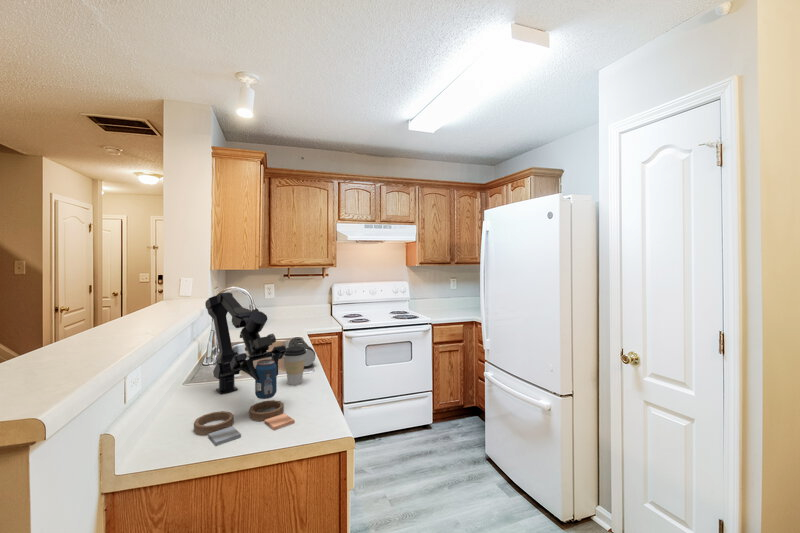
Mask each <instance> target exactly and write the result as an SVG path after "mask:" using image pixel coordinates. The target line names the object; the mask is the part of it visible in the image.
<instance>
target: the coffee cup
mask: <svg viewBox="0 0 800 533" xmlns="http://www.w3.org/2000/svg"><path fill="white" fill-rule="evenodd" d="M286 349H287V351H286V353H285V354H284V367H285V374H286V378H287V379H286V380H287V384H289V385H288V386H298V385H302V383H303V376H304V370H305V366H304V355H305V353H306V350H305V349H304V347H300V346H294V347H289V348H288V347H286Z"/></svg>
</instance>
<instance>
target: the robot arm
mask: <svg viewBox="0 0 800 533" xmlns="http://www.w3.org/2000/svg"><path fill="white" fill-rule="evenodd" d="M204 303H205V308H206V309H207V310H206V311H207V313H208V316H210V317H211V318H212V319H213V323H214V328H215V335H216V340H217V346H218V352H219V354H218V356H217V359H216V365H215V367H214V369H213V371H212V373H213V377H214V378H216V379H218V388H215V390H216V391H217V392H218V393H219V394H221V395H223V394H228V393H232V392H235V391H238V389H239V388H238V387H236V386H235V382H236V381H235V375H240V372H241V371H242V372H244V373H246V374H247V375H249V376H250V377H251V378H252V379H253V380H256V381H259V377H258V374H257V372H256V370H255V367H256V366H255V365H254V361H260V360H265V359H267V358H269V359H270V360H274V361H275V364H276V366H277V376H278V375H279V360H282V359H283V357H285V355H284V354H285V353H286V351H287V349H286V348H287V347H286V345H285V344H284V345H281V344H280V345H278V346H277V345H276V346H274V347H273V348H272V350H270V351H268V350H269V349H270V346H273V344H274V343H276V342H277V339H276V335H275V334H274V333H269V334H267V335H266V336H261V335H260V333H261V331H262V330H263V328H264V326H265V325H266V323H267V321H268V316H267V314H265V312H263V311H260V310H259V309H258V308H256V309H252V310H251V309H249V308H246V307H243V306H242V305H241V304H240V302H239V301H237V299H236V298H235V297H234V296H233V293H232V292H227V291H226V292H219V293H217V294H216V295H214V296H211V297H209V298H208V299H207V300H205V302H204ZM227 314H229V315H230V316H231V324H232V326H234V328H235V329H241V328H242V329H241V331H240V332H239V333H240V334H239V339H242V341H243V344H244V345H245V347H244V351H245V352H246V351H247V353H248V354H247V353H245V352H243V353H238V352H237V351H234V349H233V346H232V341H231V336H230V330H229V329H230V328H229V325H228V319H227Z"/></svg>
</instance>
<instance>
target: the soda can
mask: <svg viewBox="0 0 800 533" xmlns="http://www.w3.org/2000/svg"><path fill="white" fill-rule="evenodd" d="M254 367H255V370H256V372H257V374H258V377H259V381H256V380H255V379H254V380H255V381H254V383H255V384H254V386H255V388H254V392H255V396H256V397H257V399H259V400H268V399H272V398H273V397H274V396H275V395H276V393H277V384H278V382H277V381H278V380H277V376H278V375H277V366H276V364H275V361H274V360H270V358H269V359H267V358H266V359H260V360H257V362H256V365H255V366H254Z"/></svg>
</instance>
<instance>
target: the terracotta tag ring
mask: <svg viewBox="0 0 800 533" xmlns="http://www.w3.org/2000/svg"><path fill="white" fill-rule="evenodd" d="M284 405H285V404H284V402H283V401H281V400H274V399H272V400H263V401H260V402H256V403H254V404H252V405H251V406H250V407H249V410H248V417H249V419H250V420H252V421H256V422H264V424H265V425H266V426H268V427H269V428H270V429H272V430H273V431H276V430H279V429H282V428H284V427H286V426H289V425H292V424H295V419H294V418H292V417H291V416H289V415H288V414H286V413H284V412H285V411H284V410H285V406H284ZM266 409H268V410H269V409H273V410H271V411H265V412H261V411H262V410H266ZM281 427H282V428H281Z"/></svg>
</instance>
